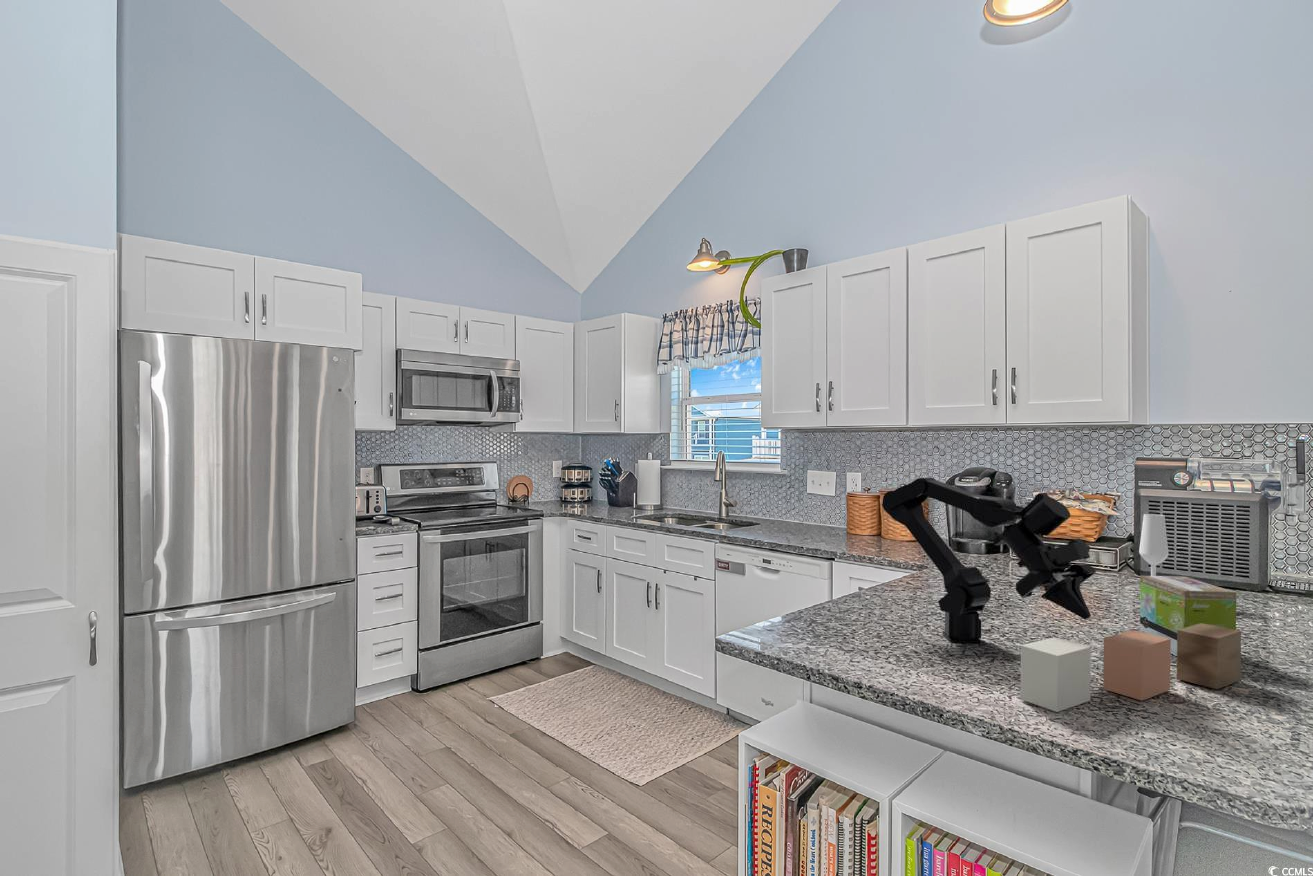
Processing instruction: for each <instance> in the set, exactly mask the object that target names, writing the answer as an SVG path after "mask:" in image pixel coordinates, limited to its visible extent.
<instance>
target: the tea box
mask: <svg viewBox="0 0 1313 876" xmlns="http://www.w3.org/2000/svg"><path fill="white" fill-rule="evenodd" d="M1139 583H1140V584H1139V596H1140V598H1139V632H1142V633H1146V634H1151V635H1155V636H1159V637H1164V638H1168V639H1171V648H1170V655H1172V654H1173V656H1174V657H1176V656H1177V630H1179V629H1182V628H1186V627H1190V626H1193V625H1197V624H1200V623H1203V624H1208V625H1213V626H1218V627H1223V628H1228V629H1233V630H1237V592H1236V591H1233V590H1230V589H1227V588H1223V587H1220V586H1217V585H1213V584H1210V583H1207V582H1204V581H1201V580H1197V579H1195V578H1192V577H1188V576H1181V575H1179V576H1175V575H1174V576H1173V575H1172V576H1171V575H1156V576H1151V575H1140V576H1139Z"/></svg>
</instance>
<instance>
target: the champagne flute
mask: <svg viewBox="0 0 1313 876" xmlns="http://www.w3.org/2000/svg"><path fill="white" fill-rule="evenodd" d="M1165 517H1166V515H1164V514H1157V513H1144V514H1143V518H1142V527H1141V534H1140V535H1141V536H1140V541H1139V550H1138V554H1139V555H1140V556H1141V558H1142V559H1143V560H1144V561H1145V562H1146V563H1147V564H1149V565H1150V576H1157V565H1160V564H1162V562H1164V561H1165V560H1166V559H1167V558H1168V557H1169V554H1170V553H1169V547H1168V546H1169V545H1168V535H1167V526H1166V518H1165Z"/></svg>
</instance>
